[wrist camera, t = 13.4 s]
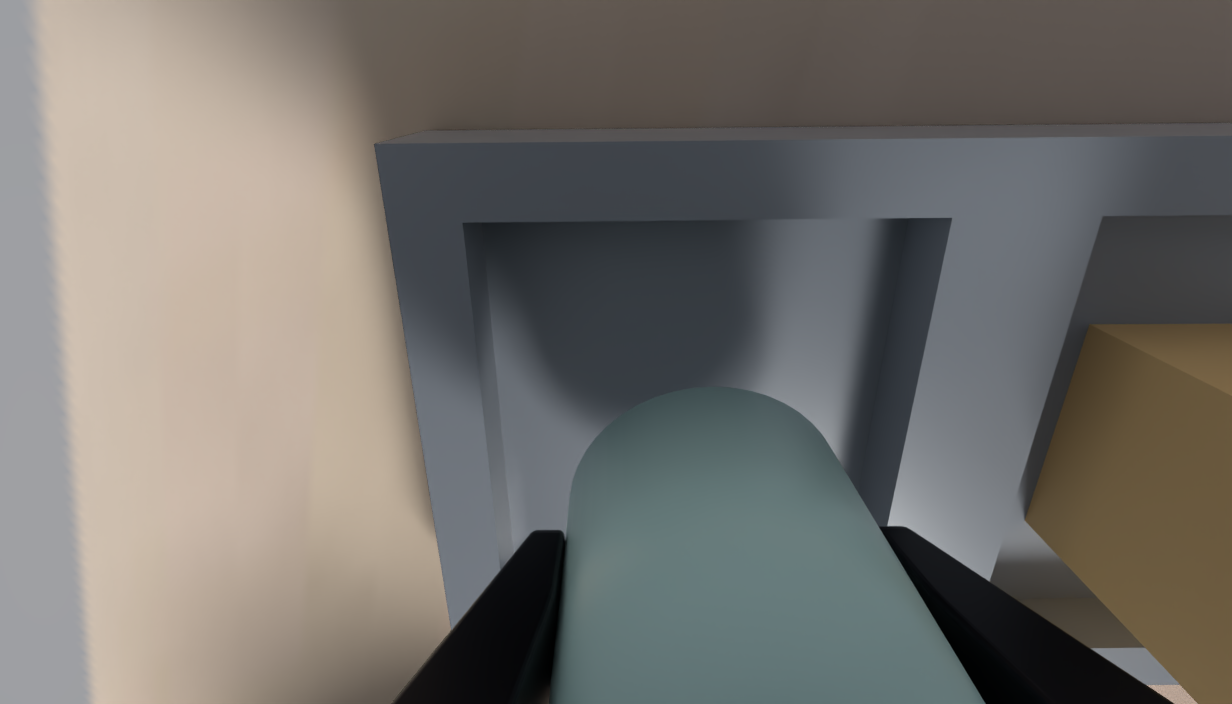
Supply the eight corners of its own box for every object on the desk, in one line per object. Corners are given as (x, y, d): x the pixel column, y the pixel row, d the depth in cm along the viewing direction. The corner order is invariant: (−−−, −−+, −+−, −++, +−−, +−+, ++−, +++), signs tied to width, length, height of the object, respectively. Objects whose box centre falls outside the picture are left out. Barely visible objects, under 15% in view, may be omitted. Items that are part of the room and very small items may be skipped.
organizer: (1472, 120, 10) (1715, 131, 8) (1230, 588, 14) (1346, 682, 12) (426, 130, 10) (374, 144, 8) (484, 597, 14) (461, 693, 12)
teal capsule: (860, 384, 8) (1173, 761, 4) (824, 607, 10) (1008, 1063, 5) (563, 388, 8) (501, 771, 4) (574, 610, 10) (542, 1072, 5)
